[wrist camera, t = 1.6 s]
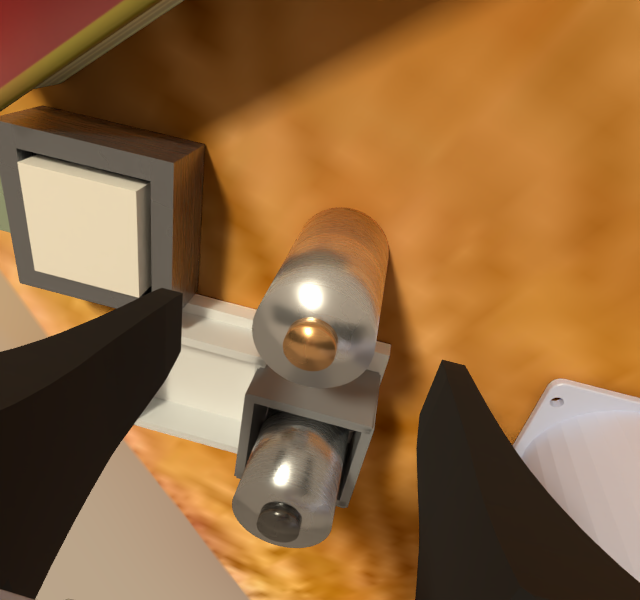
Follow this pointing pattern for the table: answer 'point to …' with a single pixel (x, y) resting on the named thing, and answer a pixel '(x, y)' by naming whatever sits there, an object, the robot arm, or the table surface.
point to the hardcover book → (63, 38)
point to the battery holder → (253, 391)
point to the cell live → (325, 301)
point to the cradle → (120, 158)
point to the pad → (88, 224)
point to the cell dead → (291, 480)
